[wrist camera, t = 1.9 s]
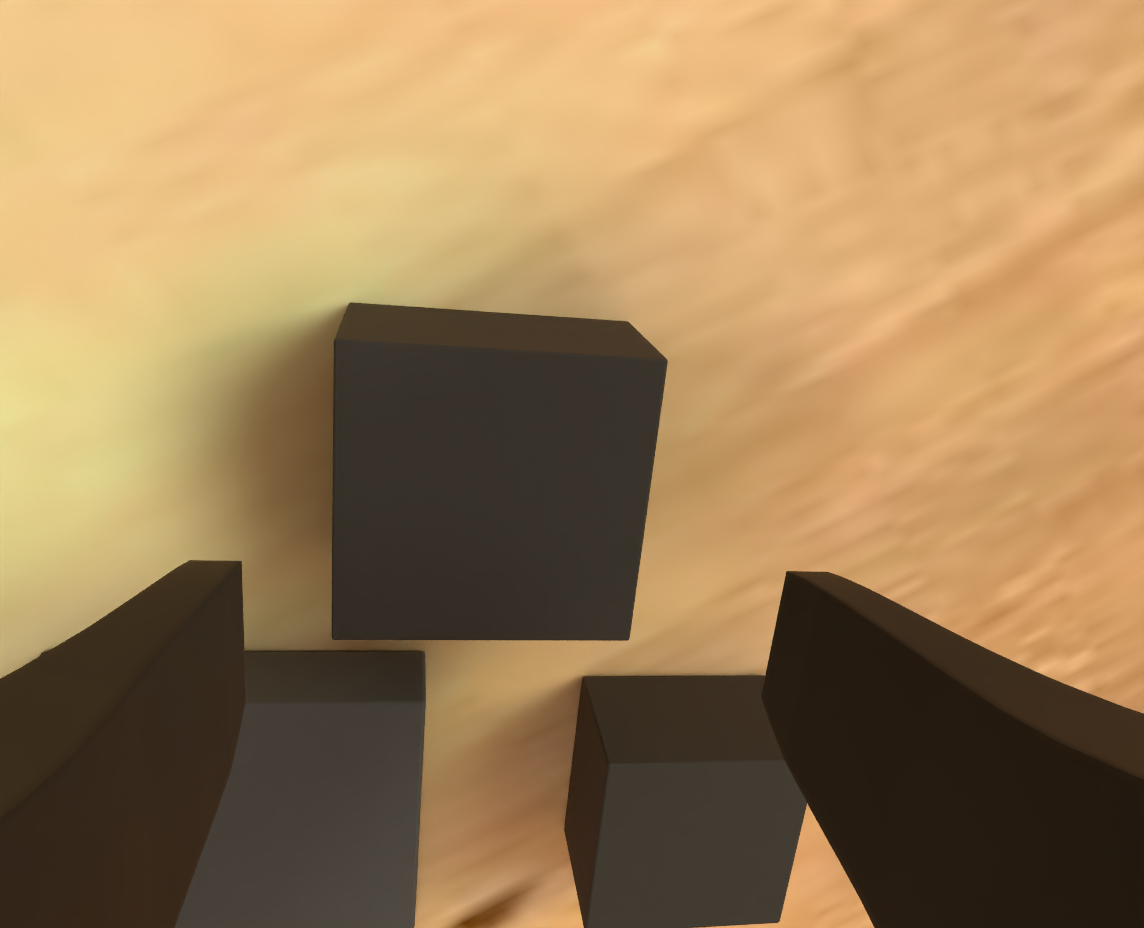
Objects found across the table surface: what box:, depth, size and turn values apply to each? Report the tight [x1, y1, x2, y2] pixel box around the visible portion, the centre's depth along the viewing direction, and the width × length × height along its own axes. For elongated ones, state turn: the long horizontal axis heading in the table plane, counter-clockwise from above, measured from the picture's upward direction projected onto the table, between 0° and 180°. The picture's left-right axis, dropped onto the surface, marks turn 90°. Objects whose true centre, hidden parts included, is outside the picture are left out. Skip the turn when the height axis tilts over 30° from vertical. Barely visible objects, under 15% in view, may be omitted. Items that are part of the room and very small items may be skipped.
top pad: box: [564, 676, 807, 928], centre depth 21 cm, size 5×5×3 cm
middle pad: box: [332, 303, 668, 640], centre depth 17 cm, size 6×6×3 cm
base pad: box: [39, 651, 426, 928], centre depth 20 cm, size 8×8×2 cm
